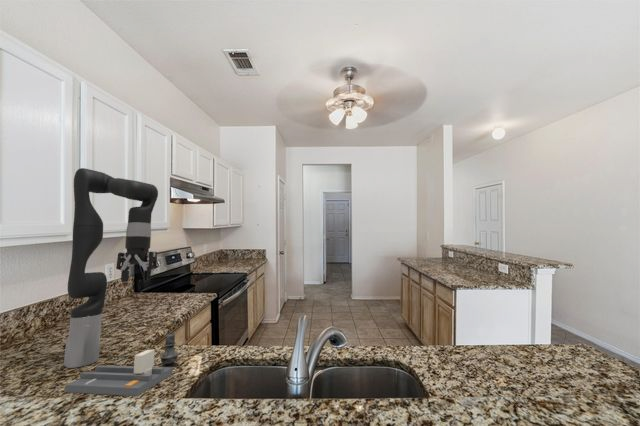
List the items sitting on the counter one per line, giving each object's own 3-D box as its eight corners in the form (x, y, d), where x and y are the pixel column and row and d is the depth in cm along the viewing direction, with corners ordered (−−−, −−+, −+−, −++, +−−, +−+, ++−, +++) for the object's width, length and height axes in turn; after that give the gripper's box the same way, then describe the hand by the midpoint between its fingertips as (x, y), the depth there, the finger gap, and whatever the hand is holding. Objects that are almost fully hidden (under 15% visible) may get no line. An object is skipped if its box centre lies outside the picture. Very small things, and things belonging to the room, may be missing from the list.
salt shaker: (170, 369, 92) (171, 332, 94) (155, 369, 93) (157, 332, 95) (182, 363, 98) (183, 328, 100) (167, 362, 99) (169, 328, 101)
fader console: (65, 392, 79) (66, 379, 79) (109, 371, 93) (110, 360, 93) (137, 396, 75) (138, 382, 76) (172, 373, 89) (172, 362, 89)
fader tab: (132, 379, 81) (134, 355, 82) (145, 372, 86) (146, 349, 87) (141, 380, 80) (142, 355, 81) (154, 372, 85) (155, 349, 86)
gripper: (112, 236, 96) (108, 283, 93) (148, 234, 93) (144, 282, 91) (130, 237, 103) (127, 280, 101) (163, 235, 101) (161, 280, 98)
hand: (135, 281), depth 96 cm, fingers open, 8 cm apart
